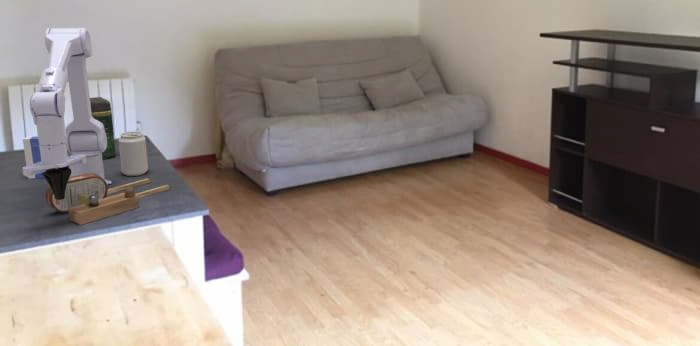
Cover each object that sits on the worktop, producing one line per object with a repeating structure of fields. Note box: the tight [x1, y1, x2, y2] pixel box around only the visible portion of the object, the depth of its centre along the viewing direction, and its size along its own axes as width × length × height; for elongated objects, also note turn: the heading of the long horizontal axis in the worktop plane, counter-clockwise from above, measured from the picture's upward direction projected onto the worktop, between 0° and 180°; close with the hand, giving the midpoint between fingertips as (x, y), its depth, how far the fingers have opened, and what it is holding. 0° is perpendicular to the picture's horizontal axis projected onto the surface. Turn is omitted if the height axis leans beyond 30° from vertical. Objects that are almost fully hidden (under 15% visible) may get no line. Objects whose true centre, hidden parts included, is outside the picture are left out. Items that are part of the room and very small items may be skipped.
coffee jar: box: [90, 96, 116, 160], centre depth 219 cm, size 10×8×19 cm
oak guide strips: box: [107, 178, 170, 199], centre depth 188 cm, size 10×15×1 cm, turn 140°
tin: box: [45, 173, 109, 213], centre depth 175 cm, size 15×3×8 cm, turn 133°
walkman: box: [22, 136, 45, 180], centre depth 199 cm, size 8×3×12 cm, turn 96°
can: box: [117, 130, 149, 177], centre depth 202 cm, size 8×8×12 cm
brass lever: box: [78, 193, 99, 206], centre depth 170 cm, size 7×2×2 cm, turn 50°
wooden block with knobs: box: [68, 187, 140, 226], centre depth 171 cm, size 5×16×5 cm, turn 140°
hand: (59, 198), depth 165 cm, fingers closed
